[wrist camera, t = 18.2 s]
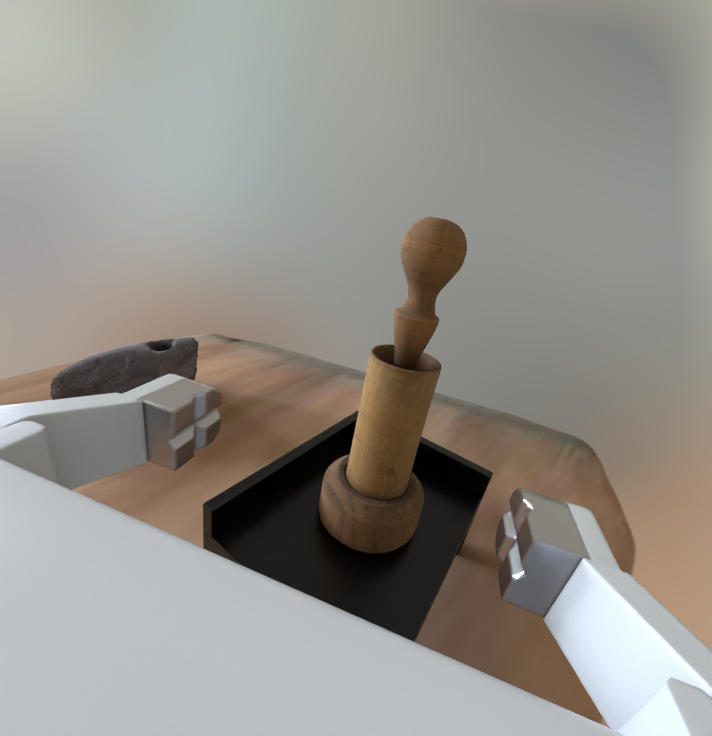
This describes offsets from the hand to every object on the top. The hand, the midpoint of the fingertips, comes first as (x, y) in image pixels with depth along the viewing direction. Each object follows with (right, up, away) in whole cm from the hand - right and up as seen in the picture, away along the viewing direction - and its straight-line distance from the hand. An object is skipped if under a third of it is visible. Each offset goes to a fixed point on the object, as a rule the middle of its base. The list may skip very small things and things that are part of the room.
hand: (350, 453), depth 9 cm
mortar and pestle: (+1, -7, +13) cm, 15 cm away
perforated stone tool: (-25, -2, +30) cm, 40 cm away
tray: (0, -13, +16) cm, 20 cm away
